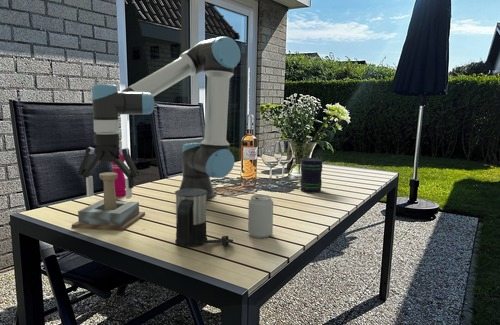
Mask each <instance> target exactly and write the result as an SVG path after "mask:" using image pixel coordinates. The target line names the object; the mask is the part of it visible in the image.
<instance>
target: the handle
mask: <svg viewBox="0 0 500 325" xmlns="http://www.w3.org/2000/svg"><path fill="white" fill-rule="evenodd" d="M98 176H99V179H100V180H101V181H103V182H102V183H103V200H104V209H105V210H115V209H117V205H116V201H117V197H116V194H115V185H114V180H115V179H116V178H118V174H117V173H113V171H112V172H102V173H101V172H100V173H99V174H98Z"/></svg>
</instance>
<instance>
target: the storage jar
mask: <svg viewBox="0 0 500 325" xmlns="http://www.w3.org/2000/svg"><path fill="white" fill-rule="evenodd" d="M300 171H301V173H300V174H301V176H300V177H301V178H300V182H299V185H300V190H301V191H300V192H303V193H306V194H319V193H321V192H322V184H323V180H322V172H323V159H322V158H317V157H303V158H301V163H300Z"/></svg>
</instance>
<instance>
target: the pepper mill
mask: <svg viewBox="0 0 500 325" xmlns="http://www.w3.org/2000/svg"><path fill="white" fill-rule="evenodd" d="M119 156H120V158H121V159H122V161H123V162H124V163H125V162H126V161H125V159H124V157H123V155H121V153H120V154H119ZM111 168H112V173H117V174H118V178H116V179H115V180H114V185H115V194H116V198H117V197H118V198H119V197H126V182H125V179H127V177H126V175H125V174H124V173H123V172H122V170H121V169H120V168H119V167H118V166H117V164H115V163H114V162H111Z"/></svg>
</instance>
